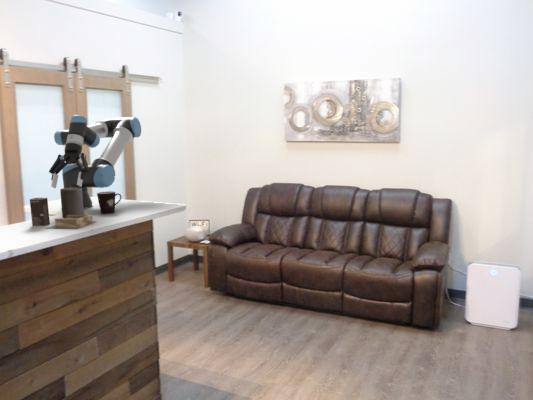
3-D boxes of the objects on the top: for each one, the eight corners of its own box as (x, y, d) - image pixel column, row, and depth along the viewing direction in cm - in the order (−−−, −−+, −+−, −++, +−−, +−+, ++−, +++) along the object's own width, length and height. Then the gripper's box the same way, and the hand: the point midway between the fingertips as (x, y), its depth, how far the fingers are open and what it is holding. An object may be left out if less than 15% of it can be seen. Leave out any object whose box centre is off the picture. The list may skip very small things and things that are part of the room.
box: (31, 226, 217) (29, 199, 215) (38, 224, 221) (35, 197, 220) (44, 226, 216) (41, 199, 214) (50, 224, 221) (47, 197, 219)
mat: (67, 222, 225) (67, 221, 225) (97, 222, 222) (97, 221, 222) (44, 229, 209) (44, 228, 209) (76, 230, 206) (76, 229, 206)
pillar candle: (61, 220, 230) (58, 187, 228) (63, 216, 240) (61, 185, 237) (83, 218, 233) (81, 186, 231) (85, 215, 242) (82, 184, 240)
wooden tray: (69, 222, 221) (68, 214, 221) (93, 222, 219) (92, 214, 218) (55, 227, 212) (54, 219, 211) (80, 227, 209) (79, 219, 209)
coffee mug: (99, 215, 240) (97, 194, 239) (98, 212, 248) (96, 192, 247) (124, 212, 245) (122, 192, 243) (122, 210, 252) (120, 190, 251)
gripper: (46, 143, 241) (37, 184, 234) (93, 140, 235) (85, 182, 228) (56, 150, 248) (47, 190, 240) (101, 147, 242) (94, 188, 235)
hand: (66, 186), depth 234 cm, fingers open, 13 cm apart
